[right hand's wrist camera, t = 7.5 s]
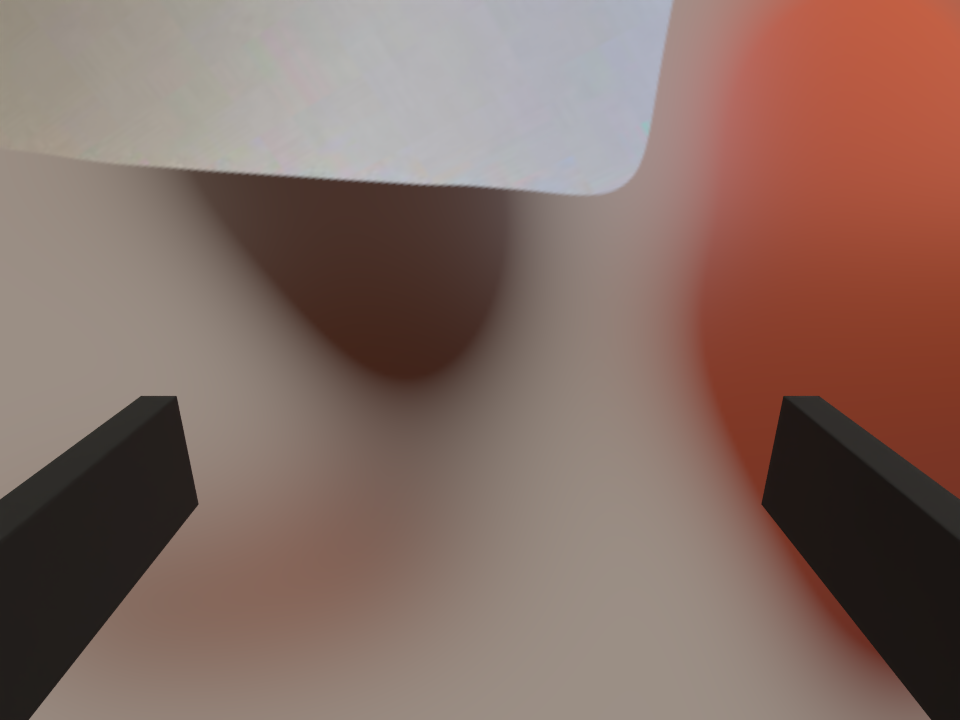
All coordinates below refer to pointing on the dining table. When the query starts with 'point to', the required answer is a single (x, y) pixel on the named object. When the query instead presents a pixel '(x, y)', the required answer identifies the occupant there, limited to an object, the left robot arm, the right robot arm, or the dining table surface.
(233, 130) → the dining table surface
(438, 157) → the dining table surface
